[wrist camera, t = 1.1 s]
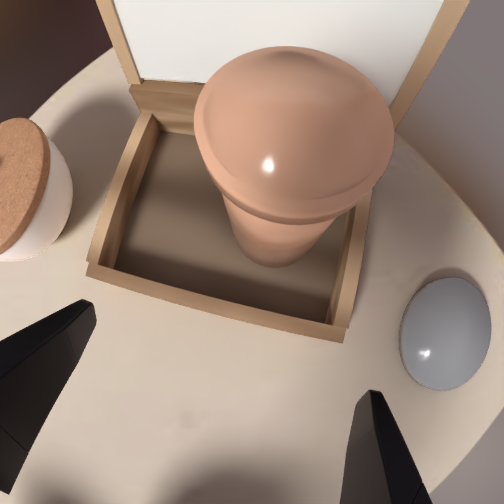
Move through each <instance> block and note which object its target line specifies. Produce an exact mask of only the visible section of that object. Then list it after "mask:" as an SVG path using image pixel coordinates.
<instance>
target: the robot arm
mask: <svg viewBox="0 0 504 504" xmlns="http://www.w3.org/2000/svg"><path fill="white" fill-rule="evenodd" d="M96 321H97V320H96V314H95V309H94V305H93V303H91V302H89V301H87V300H84V299H81V300H79V301H77V302H75V303H73V304H71V305H69V306H67V307H65V308H63V309H61V310H59V311H57V312H55V313H53V314H51V315H49V316H47V317H45V318H43V319H41V320H39V321H37V322H35V323H34V324H32V325H30V326H28V327H26V328H24V329H22V330H20V331H18V332H16V333H14V334H13V335H11V336H9V337H7V338H5V339H3V340H1V341H0V491H2V492H4V493H6V494H8V495H9V494H10V492H11V490H12V487H13V485H14V483H15V481H16V479H17V476H18V474H19V472H20V470H21V468H22V466H23V464H24V462H25V460H26V458H27V456H28V452H29V451H30V449H31V447H32V445H33V443H34V441H35V439H36V437H37V435H38V433H39V432H40V430H41V428H42V426H43V424H44V422H45V420H46V418H47V417H48V415H49V413H50V411H51V409H52V407H53V406H54V404H55V402H56V400H57V398H58V397H59V395H60V393H61V391H62V390H63V388H64V386H65V384H66V383H67V381H68V379H69V377H70V376H71V374H72V372H73V371H74V369H75V367H76V366H77V364H78V362H79V360H80V358H81V356H82V354H83V351H84V349H85V347H86V345H87V343H88V341H89V338H90V336H91V334H92V332H93V330H94V328H95V326H96ZM340 504H432V501H431V499H430V497H429V495H428V493H427V490H426V488H425V486H424V483H422V479H421V476H420V474H419V472H418V470H417V467H416V465H415V463H414V461H413V458H412V456H411V454H410V452H409V449H408V447H407V445H406V443H405V441H404V438H403V436H402V434H401V432H400V430H399V428H398V425H397V423H396V421H395V419H394V417H393V415H392V413H391V411H390V408H389V406H388V404H387V402H386V400H385V398H384V396H383V394H382V393H381V392H380V391H376V390H368V391H367V392H366V393H365V394H364V395H363V396H362V398H361V399H360V400H359V401H358V402H357V404H356V407H355V411H354V416H353V422H352V426H351V431H350V436H349V441H348V446H347V451H346V460H345V469H344V477H343V484H342V492H341V499H340Z"/></svg>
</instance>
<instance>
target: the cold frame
mask: <svg viewBox="0 0 504 504" xmlns="http://www.w3.org/2000/svg"><path fill="white" fill-rule="evenodd" d="M203 87H204V85H201V84H192V83H181V82H170V81H156V80H143V82H142V83H141V84H132V85H131V86H130V88H129V91H130V93H131V95H132V97H133V99H134V100H135V102H136V104H137V106H138V108H139V110H140V111H141V113H140V115H139V117H138V119H137V122H136V124H135V126H134V128H133V131H132V133H131V135H130V137H129V140H128V142H127V144H126V147H125V149H124V152H123V154H122V156H121V159H120V161H119V164H118V166H117V169H116V172H115V174H114V177H113V179H112V182H111V185H110V188H109V190H108V193H107V196H106V199H105V201H104V204H103V207H102V210H101V213H100V216H99V219H98V222H97V225H96V229H95V232H94V235H93V238H92V242H91V245H90V248H89V252H88V255H87V259H86V261H88V262H89V265H88V268H87V272H86V276H88V277H91V278H94V279H97V280H100V281H103V282H106V283H109V284H113V285H116V286H119V287H122V288H125V289H128V290H132V291H135V292H138V293H141V294H145V295H148V296H151V297H155V298H158V299H162V300H165V301H168V302H172V303H175V304H179V305H183V306H186V307H190V308H193V309H197V310H201V311H205V312H208V313H212V314H216V315H220V316H224V317H227V318H231V319H235V320H239V321H243V322H247V323H252V324H256V325H260V326H264V327H268V328H273V329H277V330H281V331H286V332H290V333H295V334H299V335H304V336H309V337H313V338H318V339H323V340H328V341H333V342H338V343H343V339H344V335H345V331H346V328H347V329H348V327H349V323H350V319H351V314H352V309H353V305H354V300H355V295H356V290H357V285H358V280H359V274H360V269H361V263H362V258H363V252H364V246H365V239H366V233H367V226H368V219H369V212H370V205H371V197H372V189H373V187H372V188H371V189H370V191H369V192H368V193H367V194H366V195H365V196H364V197H363V198H362V199H361V200H360V201H359V202H358V203H357V204H356V205H355V206H354V207H353V208H351V209H350V210H348V211H347V212H345V213H343V214H342V215H340V216H338V217H336V219H335V220H334V221H333V222H332V223H331V225H330V226H329V227H328V228H327V230H326V231H325V232H324V233H323V234H322V236H321V237H320V238H319V239H318V241H317V242H316V243H315V244H314V245H313V247H312V248H311V249H310V250H309V251H308V253H307V254H306V255H305V256H304V257H303V258H302V259H300V260H299V261H298V262H296V263H294V264H292V265H289V266H285V267H280V268H270V267H265V266H262V265H259V264H257V263H255V262H253V261H251V260H250V259H249V258H248V257H246V256H245V255H244V254H243V252H242V251H241V250H240V248H239V247H238V245H237V243H236V240H235V237H234V234H233V230H232V227H231V224H230V220H229V217H228V213H227V210H226V206H225V203H224V199H223V196H222V193H221V192H220V191H219V189H218V188H217V187H216V185H215V184H214V183H213V181H212V179H211V178H210V176H209V174H208V172H207V169H206V167H205V164H204V161H203V158H202V155H201V152H200V149H199V146H198V143H197V140H196V136H195V131H194V112H195V106H196V103H197V100H198V97H199V95H200V93H201V91H202V89H203Z"/></svg>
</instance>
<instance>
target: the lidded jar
mask: <svg viewBox="0 0 504 504" xmlns="http://www.w3.org/2000/svg"><path fill="white" fill-rule="evenodd" d="M72 200H73V186H72V178H71V175H70V171H69V167H68V165H67V163H66V161H65V159H64V157H63V155H62V154H61V153H60V151H59V150H58V149H57V147H56V146H55V145H54V143H53V142H52V141H51V140H50V139H49V138H48V137H47V136H46V135H45V134H44V132H43V131H42V129H41V128H40V127H39V126H38V125H37V124H35V123H34V122H33V121H32V120H29V119H27V118H14V119H10V120H7V121H5V122H2V123H1V124H0V261H22V260H26V259H29V258H32V257H34V256H36V255H38V254H40V253H41V252H43V251H44V250H46V249H47V248H48V247H49V246H50V245H51V244H52V243H53V242H54V241H55V240H56V239H57V238H58V236H59V235H60V233H61V232H62V230H63V229H64V227H65V225H66V223H67V220H68V217H69V214H70V210H71V206H72Z"/></svg>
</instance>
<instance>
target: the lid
mask: <svg viewBox="0 0 504 504" xmlns="http://www.w3.org/2000/svg"><path fill="white" fill-rule="evenodd" d="M469 1H470V0H96V2H97V5H98V8H99V10H100V13H101V15H102V18H103V21H104V23H105V26H106V29H107V31H108V34H109V36H110V39H111V41H112V44H113V46H114V49H115V51H116V54H117V56H118V59H119V61H120V64H121V66H122V69H123V71H124V73H125V76H126V78H127V81H128V83H129V84H141V83H142V82H143V80H144V78H152V79H168V80H180V81H191V82H200V83H207V81H208V80H209V79H210V77H211V76H212V75H213V74H214V73H215V72H216V71H217V70H218V69H220V68H221V67H222V66H223V65H225V64H226V63H228V62H229V61H231V60H233V59H234V58H236V57H238V56H241V55H243V54H245V53H248V52H251V51H254V50H258V49H262V48H267V47H275V46H296V47H304V48H310V49H314V50H318V51H322V52H325V53H327V54H330V55H333V56H335V57H337V58H339V59H341V60H343V61H345V62H347V63H348V64H350V65H351V66H353V67H355V68H356V69H357V70H358V71H360V72H361V73H362V74H363V75H365V76H366V77H367V78H368V79H369V80H370V81H371V82H372V84H373V85H374V86H375V87H376V88H377V89H378V91H379V92H380V94H381V95H382V97H383V98H384V100H385V102H386V104H387V106H388V108H389V111H390V114H391V117H392V121H393V126H394V132H395V130H396V128H397V127H398V125H399V124H400V122H401V120H402V119H403V117H404V115H405V114H406V112H407V110H408V109H409V107H410V106H411V104H412V102H413V101H414V99H415V97H416V96H417V94H418V92H419V91H420V89H421V87H422V85H423V84H424V82H425V81H426V79H427V77H428V75H429V74H430V72H431V70H432V69H433V67H434V65H435V63H436V62H437V60H438V58H439V56H440V55H441V53H442V51H443V49H444V47H445V46H446V44H447V42H448V40H449V38H450V37H451V35H452V33H453V31H454V29H455V27H456V26H457V24H458V22H459V20H460V18H461V16H462V14H463V13H464V11H465V9H466V7H467V5H468V3H469Z"/></svg>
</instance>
